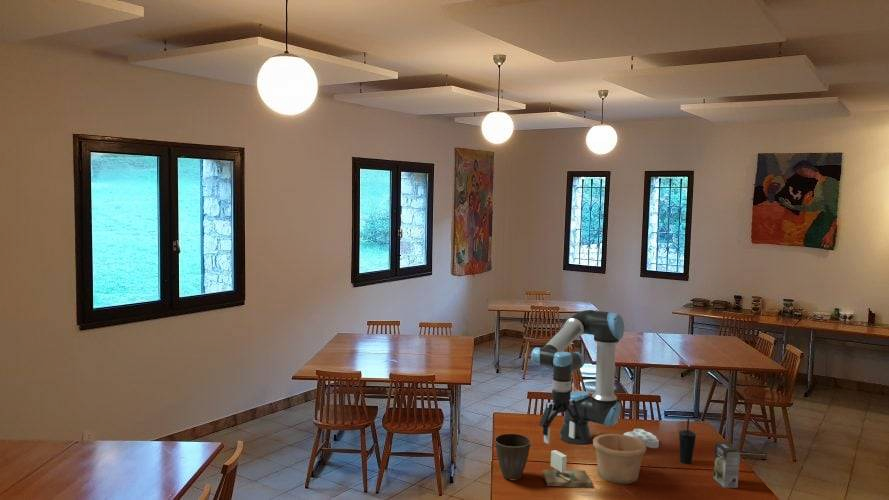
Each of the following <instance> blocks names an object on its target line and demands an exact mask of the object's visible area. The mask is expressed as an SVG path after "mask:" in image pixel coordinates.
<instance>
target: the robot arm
mask: <svg viewBox="0 0 889 500" xmlns="http://www.w3.org/2000/svg"><path fill="white" fill-rule="evenodd" d="M624 333H625V323H624V318H623V317H622V315H621V314H618V313H616V312H615V313H614V312H612V311H611V312H610V311H602V310H593V309H585V310H581V311H580V312H579V311H578V312H577V313H575V314H572V315H571V316H570V317H569V318H568V319H567V320H566V321H565V323H564V326H563V327H562V328H561V329H560V330H559V331H558V332H557V333H556V334H555V335H554V336H553V337H552V338H551V339H550V340H549V341H548V342H547V343H546V344H545V345H544V346H543V347H537V346H536V347H534V348H533V349H532V351H531V355H530V357H531V359H530V360H531V362H532V364H534V365H536V366H540V367H547V368H552V370H553V371H552V384H551V385H552V386H551V387H552V391H551V398H552V403H551V402H546V403H545V409H544V411H543V413H542V416H541V419H540V421H539V423H538V425H539V426H541V427H542V434H543V442H544V443H545V444H547V445H549V444H550V440H551V439H550V437H551V427H550V426H551V424H552V422H553V420H554V419H555V417H557V415H559V414H561V413H563V415H564V417H563V424H562V427H561V429H560V432H559V438H560V437H561V439H563V440H564V441H563V440H562V441H563V442H565V441H567V442H566V443H568V442H570V443H569V444H572V443H574V445H585V444H589V443H591V441H592V434H591V433H592V432H591V430H590V426H589V422H590V423H594V424H595V423H596V424H599V425H603V426H608V427H609V426H610V427H613V426H615V425H616V424H617V422H618V421H619V418H620V416H621V412H622V404H621V403H620V402H619V401H618V396H617V395H616V394H615V373H616V372H615V370H616V347H617V344H618V343H620V340H621V339H622V338H623V337H624ZM582 335H591V336H593V341H594V342H595V343H596V359H595V360H596V361H595V362H596V363H595V386H594V387H595V390H594V391H595V392H594V393H592V394H590V392H588V391H585V390H573V391H571V389H572V374H573V373H574V372H577V371H579V370H580V369H581V368H583V367H584V365H585V357H584V356H583V354H582V353H580V352H578V351H571V352H568V351H565V350H566V349H567V348H568V347H569V346H570V344H572V342H574V341H575V340H576V338H579V337H581V336H582ZM561 439H560V440H561Z"/></svg>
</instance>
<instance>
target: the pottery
mask: <svg viewBox="0 0 889 500" xmlns="http://www.w3.org/2000/svg"><path fill="white" fill-rule="evenodd" d="M592 446H593V447H594V448H595V452H596V464H597V475H599V477H600V478H601V479H603V480H605V481H606V482H610V483H614V484H618V485H619V484H621V485H622V484H623V485H626V484H628V485H629V484H633V483H635V482H637V481H638V479H639V475H640V469H641V467H642V466H641V464H642V460H643V456H644V454H645V453H646V451H647V446H646V445H645V444H644V443H643V442H642V441H641V440H639V439H636V438H634V437H630V436H627V435H623V434H620V433H619V434H618V433H604V434H599V435H596V436H595V437H594V438H593V439H592Z"/></svg>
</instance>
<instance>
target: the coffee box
mask: <svg viewBox="0 0 889 500" xmlns="http://www.w3.org/2000/svg"><path fill="white" fill-rule="evenodd" d="M714 448H715V449H714V464H713V480H715V481H716V482H717V483H718V484H719V485H720V486H721V487H722V488H723V489H724V488H725V489H727V488H729V489H731V488H738V486H739V473H740V459H741V458H740V457H741V450H740V448H737V447H736V446H735V445H734V444H733V443H731V442H724V441H715V446H714Z"/></svg>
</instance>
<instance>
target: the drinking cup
mask: <svg viewBox="0 0 889 500" xmlns="http://www.w3.org/2000/svg"><path fill="white" fill-rule="evenodd" d="M686 423H687V424H686V428H685V429H680V430H678V436H679V440H678V442H679V460H680V461H679V462H680V463H682V464H684V465H691V464H692V462H693V455H694V449H695V445H696V444H695V443H696V437H697V432H695V431H693V430H691V429H689V427H690V418H687V422H686Z"/></svg>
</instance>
